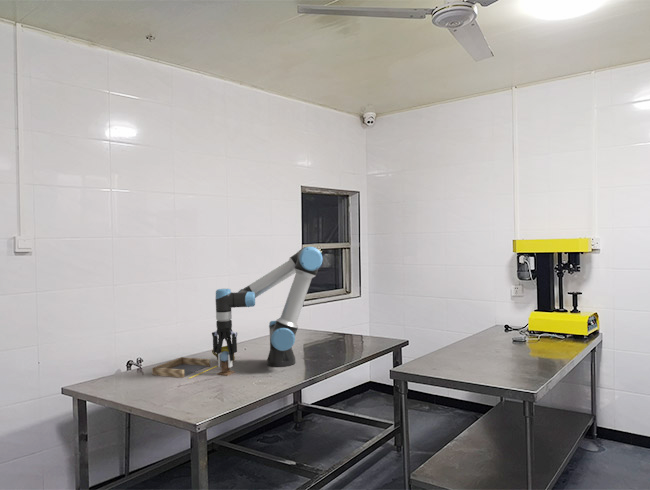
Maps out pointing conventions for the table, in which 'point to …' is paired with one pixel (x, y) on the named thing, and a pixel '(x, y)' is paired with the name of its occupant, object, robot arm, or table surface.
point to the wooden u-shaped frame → (165, 368)
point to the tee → (225, 369)
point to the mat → (189, 368)
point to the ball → (224, 356)
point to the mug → (224, 348)
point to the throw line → (203, 372)
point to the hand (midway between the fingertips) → (225, 366)
